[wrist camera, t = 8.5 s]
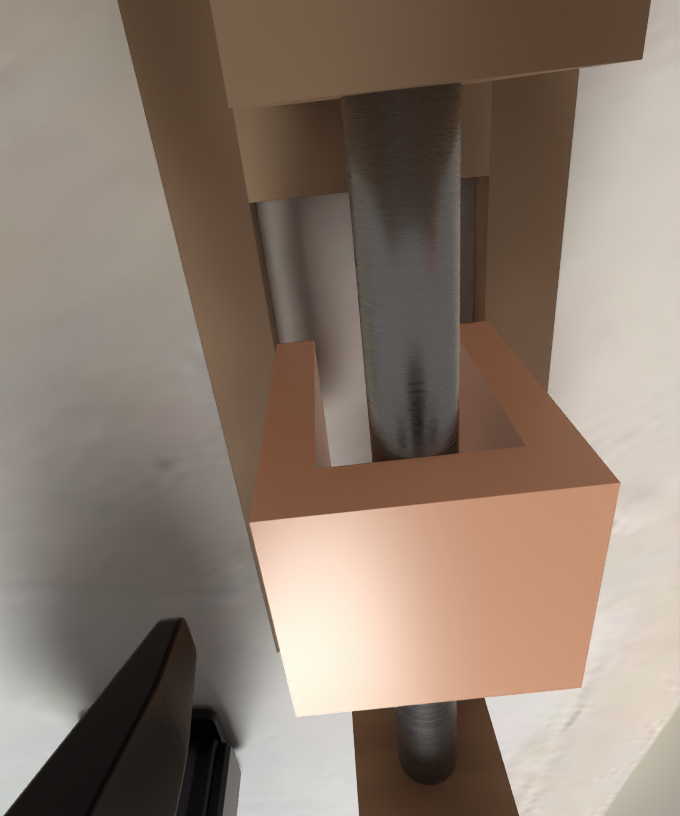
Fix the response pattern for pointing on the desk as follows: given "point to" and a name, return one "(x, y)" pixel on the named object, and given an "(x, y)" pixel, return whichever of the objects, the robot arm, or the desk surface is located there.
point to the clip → (431, 545)
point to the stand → (377, 237)
